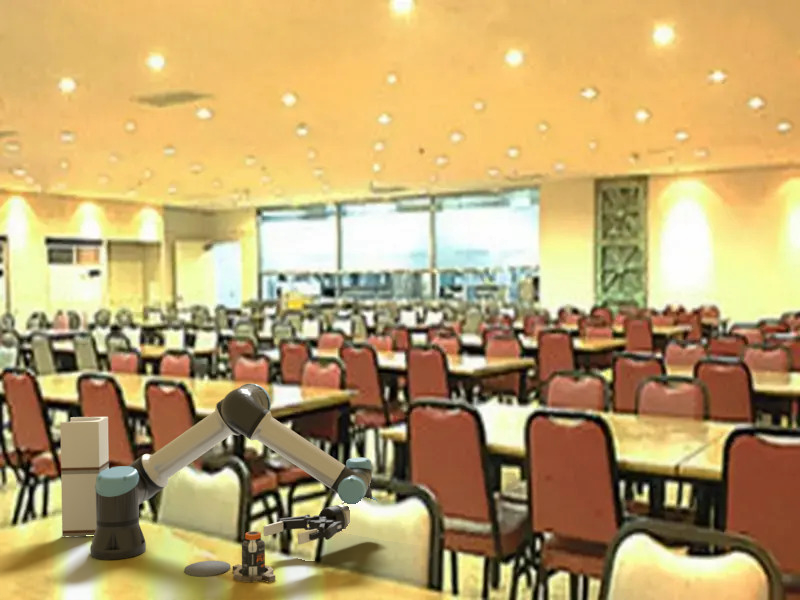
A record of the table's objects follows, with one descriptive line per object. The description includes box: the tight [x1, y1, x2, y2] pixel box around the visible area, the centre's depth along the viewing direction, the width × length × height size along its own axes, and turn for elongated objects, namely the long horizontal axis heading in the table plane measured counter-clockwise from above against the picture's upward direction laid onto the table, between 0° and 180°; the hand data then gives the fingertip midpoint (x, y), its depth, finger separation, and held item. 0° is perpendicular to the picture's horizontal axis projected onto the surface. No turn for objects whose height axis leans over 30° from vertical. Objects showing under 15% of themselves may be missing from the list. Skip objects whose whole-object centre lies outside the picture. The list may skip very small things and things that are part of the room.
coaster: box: [184, 560, 231, 577], centre depth 242 cm, size 12×12×1 cm
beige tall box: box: [59, 416, 110, 537], centre depth 280 cm, size 11×11×35 cm
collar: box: [232, 564, 276, 583], centre depth 236 cm, size 15×10×1 cm
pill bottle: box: [241, 530, 266, 575], centre depth 236 cm, size 6×6×11 cm
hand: (281, 535), depth 243 cm, fingers open, 13 cm apart
